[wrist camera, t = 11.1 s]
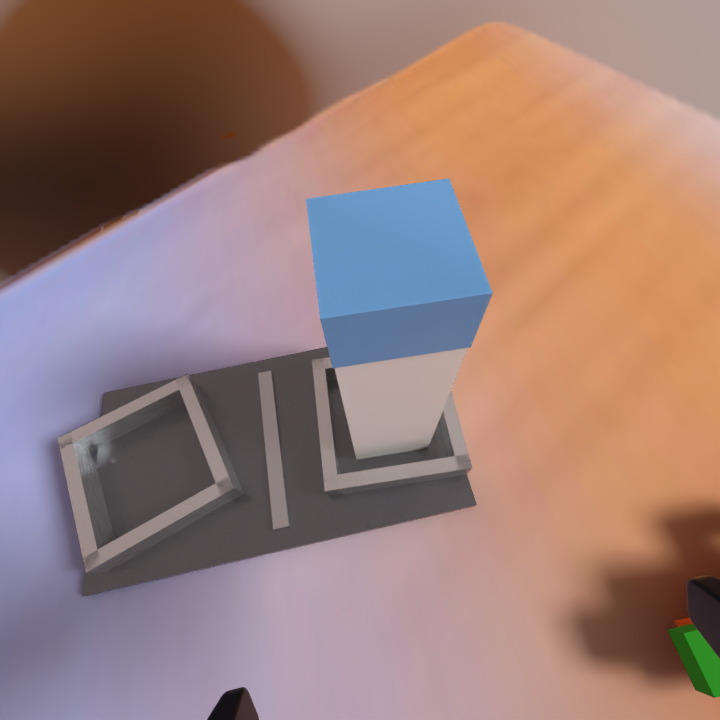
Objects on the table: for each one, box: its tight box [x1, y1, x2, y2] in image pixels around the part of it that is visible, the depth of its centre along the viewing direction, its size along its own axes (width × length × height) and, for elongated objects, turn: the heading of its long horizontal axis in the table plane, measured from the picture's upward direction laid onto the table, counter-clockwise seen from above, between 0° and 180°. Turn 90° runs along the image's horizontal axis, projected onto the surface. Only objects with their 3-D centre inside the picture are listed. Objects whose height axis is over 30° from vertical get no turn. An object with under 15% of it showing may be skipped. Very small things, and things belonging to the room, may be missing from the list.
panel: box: [82, 347, 477, 596], centre depth 22 cm, size 20×11×1 cm, turn 102°
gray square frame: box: [58, 374, 244, 573], centre depth 21 cm, size 7×7×2 cm
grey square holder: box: [312, 357, 472, 496], centre depth 22 cm, size 7×7×2 cm
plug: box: [306, 179, 492, 460], centre depth 17 cm, size 5×4×14 cm
